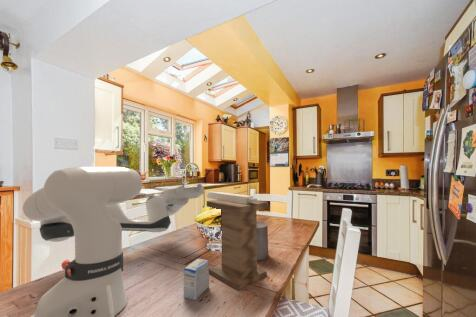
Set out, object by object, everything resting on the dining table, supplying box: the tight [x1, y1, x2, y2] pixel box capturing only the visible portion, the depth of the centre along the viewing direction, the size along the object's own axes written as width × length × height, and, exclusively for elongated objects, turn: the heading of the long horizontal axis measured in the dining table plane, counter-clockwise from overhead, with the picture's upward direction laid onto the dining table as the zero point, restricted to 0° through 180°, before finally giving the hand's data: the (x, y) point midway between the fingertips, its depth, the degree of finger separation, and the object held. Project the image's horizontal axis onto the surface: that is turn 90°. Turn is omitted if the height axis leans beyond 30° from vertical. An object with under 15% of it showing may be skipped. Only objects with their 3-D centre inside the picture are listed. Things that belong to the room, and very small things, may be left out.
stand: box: [206, 199, 269, 291], centre depth 81 cm, size 14×18×26 cm
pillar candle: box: [257, 221, 269, 261], centre depth 97 cm, size 10×10×15 cm
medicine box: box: [183, 258, 210, 301], centre depth 69 cm, size 8×4×9 cm, turn 159°
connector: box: [206, 190, 258, 204], centre depth 85 cm, size 4×26×2 cm, turn 43°
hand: (192, 185), depth 105 cm, fingers open, 8 cm apart
